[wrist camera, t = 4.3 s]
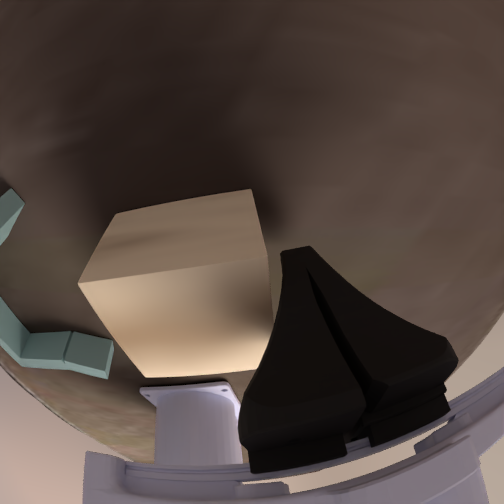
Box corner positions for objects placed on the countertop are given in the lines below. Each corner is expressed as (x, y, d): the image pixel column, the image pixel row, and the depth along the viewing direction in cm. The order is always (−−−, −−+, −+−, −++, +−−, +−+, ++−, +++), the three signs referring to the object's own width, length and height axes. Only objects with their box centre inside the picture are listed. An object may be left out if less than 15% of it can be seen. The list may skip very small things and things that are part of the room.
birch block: (263, 293, 15) (277, 365, 11) (156, 307, 15) (145, 377, 11) (251, 188, 11) (267, 256, 8) (115, 213, 11) (77, 283, 7)
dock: (119, 349, 17) (113, 379, 15) (39, 351, 17) (31, 374, 15) (16, 184, 9) (-13, 210, 7) (-49, 229, 9) (-68, 251, 7)
